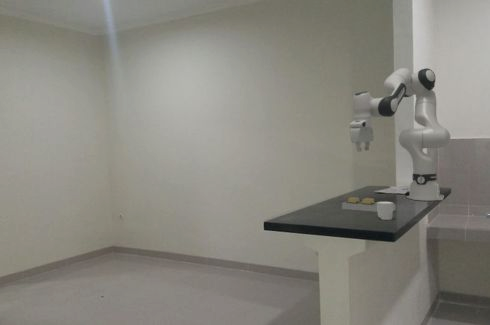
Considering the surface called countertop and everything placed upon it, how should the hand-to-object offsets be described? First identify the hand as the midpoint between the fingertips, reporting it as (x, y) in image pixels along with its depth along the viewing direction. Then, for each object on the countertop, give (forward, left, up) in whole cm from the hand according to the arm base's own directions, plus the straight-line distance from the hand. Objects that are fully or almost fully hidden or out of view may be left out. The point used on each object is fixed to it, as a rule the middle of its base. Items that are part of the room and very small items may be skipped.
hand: (363, 150), depth 207 cm
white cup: (+28, +22, -28) cm, 45 cm away
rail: (+14, +8, -28) cm, 32 cm away
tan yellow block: (+14, +8, -27) cm, 32 cm away
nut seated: (+14, +1, -27) cm, 31 cm away
